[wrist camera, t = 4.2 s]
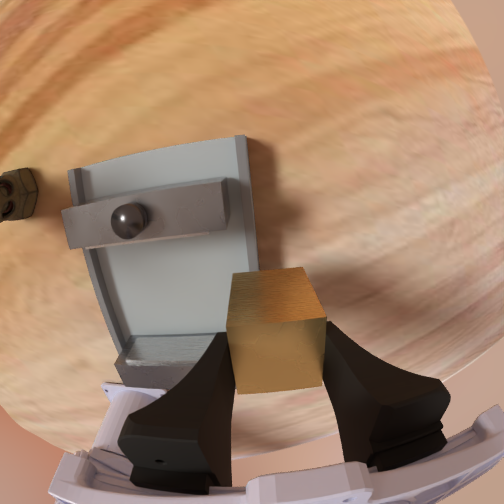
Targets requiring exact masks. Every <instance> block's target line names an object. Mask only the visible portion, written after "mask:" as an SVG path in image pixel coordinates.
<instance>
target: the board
mask: <svg viewBox="0 0 504 504" xmlns="http://www.w3.org/2000/svg"><path fill="white" fill-rule="evenodd" d="M225 176H227V184H228V193H229V201H230V210H231V216H230V219H229V223H228V226H227V230H221V231H212V232H210V234H209V235H200V236H191V237H182V238H173V239H165V240H156V241H148V242H140V243H132V244H124V245H116V246H108V247H100V248H93V249H85V247H83V248H82V249H83V253H84V256H85V260H86V264H87V267H88V271H89V274H90V277H91V281H92V284H93V287H94V290H95V293H96V296H97V299H98V302H99V305H100V308H101V311H102V314H103V316H104V319H105V322H106V324H107V327H108V330H109V332H110V335H111V337H112V340H113V342H114V344H115V347H116V349H117V351H118V354H119V355H120V353H121V351H122V349H123V347H124V346H125V344H126V342H127V340H128V339H129V337H130V335H166V334H196V333H215V332H227V331H226V321H227V313H228V305H229V297H230V290H231V282H232V275H233V273H241V272H252V271H260V268H259V257H258V247H257V237H256V227H255V217H254V207H253V197H252V187H251V177H250V167H249V157H248V147H247V138H246V136H245V135H236V136H235V137H230V138H222V139H214V140H207V141H200V142H193V143H187V144H181V145H175V146H170V147H165V148H159V149H154V150H149V151H145V152H140V153H136V154H131V155H127V156H123V157H119V158H115V159H111V160H107V161H103V162H99V163H96V164H92V165H88V166H85V167H82V168H76V169H71V170H68V178H69V185H70V191H71V197H72V203H73V206H74V205H76V204H79V203H82V202H85V201H88V200H90V199H94V198H99V197H103V196H108V195H113V194H118V193H123V192H128V191H133V190H138V189H144V188H150V187H155V186H161V185H167V184H174V183H180V182H187V181H194V180H201V179H209V178H217V177H225Z"/></svg>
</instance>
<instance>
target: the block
mask: <svg viewBox="0 0 504 504" xmlns="http://www.w3.org/2000/svg"><path fill="white" fill-rule="evenodd" d="M326 321H327V316H326V314H325V312H324V310H323V308H322V306H321V304H320V302H319V299H318V297H317V295H316V293H315V291H314V289H313V287H312V285H311V283H310V281H309V279H308V277H307V275H306V273H305V270H304V268H303V267H296V268H285V269H275V270H264V271H252V272H241V273H233V275H232V282H231V290H230V297H229V305H228V313H227V321H226V331H227V337H228V343H229V349H230V355H231V360H232V366H233V372H234V377H235V382H236V388H237V393H238V394H255V393H268V392H278V391H288V390H296V389H304V388H311V387H318V386H322V380H323V367H324V353H325V337H326Z"/></svg>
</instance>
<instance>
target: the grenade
mask: <svg viewBox="0 0 504 504" xmlns="http://www.w3.org/2000/svg"><path fill="white" fill-rule="evenodd" d="M37 193H38V190H37V186H36V183H35V180H34V178H33V176H32V174H31V172H30V170H29V169H28V168H22V169H17V170H12V171H8V172H4V173H3V174H2V176H0V223H1V222H3V221H7V220H8V221H14V220H22V219H25V218H27V217H30V216H31V215H32V213H33V210H34V207H35V204H36V200H37Z"/></svg>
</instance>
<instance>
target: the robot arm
mask: <svg viewBox="0 0 504 504" xmlns="http://www.w3.org/2000/svg"><path fill="white" fill-rule="evenodd" d="M323 381H324V384H325V387H326V389H327V392H328V395H329V398H330V400H331V403H332V406H333V409H334V412H335V415H336V420H337V424H338V429H339V434H340V439H341V444H342V449H343V455H344V461H345V463H339V464H335V465H329V466H324V467H318V468H312V469H306V470H299V471H291V472H282V473H273V474H267V475H261V476H258V477H256V478H254V479H251V480H250V481H249V482H248V483H247V485H246V487H232V473H231V418H232V410H233V402H234V394H235V386H236V382H235V377H234V372H233V366H232V360H231V355H230V349H229V343H228V337H227V332H217V333H216V335H215V336H214V338H213V340H212V341H211V343H210V345H209V346H208V348H207V349H206V351H205V352H204V354H203V355H202V356H201V358H200V359H199V360H198V362H197V363H196V364H195V365H194V367H193V368H192V369H191V370H190V371H189V372H188V374H187V375H186V376H185V377H184V378H183V379H182V380H181V381H180V382H179V383H178V384H176V385H175V386H174V387H173V388H172V389H170V390H169V391H168V392H167V390H166V389H147V388H133V387H125V385H122V384H112V383H102V385H101V387H102V389H103V391H104V392H105V394H106V396H107V397H108V399H109V401H110V402H111V404H110V406H109V408H108V411H107V413H106V415H105V417H104V420H103V422H102V424H101V426H100V429H99V431H98V433H97V436H96V438H95V440H94V443H93V445H92V447H91V450H90V451H89V452H86V451H85V450H81V451H76V452H75V453H74V454H71V453H67V452H65V453H64V455H63V457H62V459H61V461H60V464H59V466H58V468H57V471H56V473H55V475H54V477H53V480H52V482H51V485H50V487H49V490H48V493H49V494H50V495H51V496H53V497H54V498H56V501H55V504H436V503H438V502H439V501H441V500H443V499H445V498H446V497H448V496H450V495H451V494H453V493H455V492H456V491H458V490H460V489H461V488H463V487H465V486H466V485H468V484H469V483H471V482H472V481H474V480H476V479H477V478H478V477H480V476H482V475H483V474H485V473H486V472H487V471H489V470H490V469H492V468H493V467H494V466H495V465H496V464H497V463H498V462H499V461H500V460H501V459H502V458H503V457H504V412H503V411H502V409H501V408H500V406H499V405H498V404H496V405H494V406H493V407H491V408H490V409H488V410H486V411H485V412H483V413H482V414H480V415H479V416H478V417H477V418H476V420H475V421H474V423H473V425H472V426H471V427H469V428H467V429H465V430H463V431H462V432H460V433H458V434H456V435H454V436H452V437H450V438H448V439H446V438H445V436H444V434H443V433H442V431H441V429H442V428H443V424H442V423H441V421H440V420H441V418H442V416H443V414H444V413H445V411H446V409H447V407H448V405H449V403H450V398H451V396H450V394H449V392H448V390H447V389H446V387H445V386H444V385H443V383H442V382H441V381H440V380H439V379H435V378H431V377H426V376H421V375H418V374H414V373H411V372H408V371H405V370H403V369H400V368H398V367H395V366H393V365H391V364H389V363H387V362H385V361H383V360H381V359H379V358H377V357H376V356H374V355H372V354H371V353H369V352H368V351H366V350H365V349H363V348H362V347H361V346H359V345H358V344H357V343H355V342H354V341H353V340H352V339H350V338H349V337H348V336H347V335H346V334H344V333H343V332H342V331H341V330H340V329H339V328H338V327H337V326H335V325H334V324H333V323H332V322H331V321H327V322H326V337H325V353H324V367H323ZM163 394H164V395H163Z"/></svg>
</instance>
